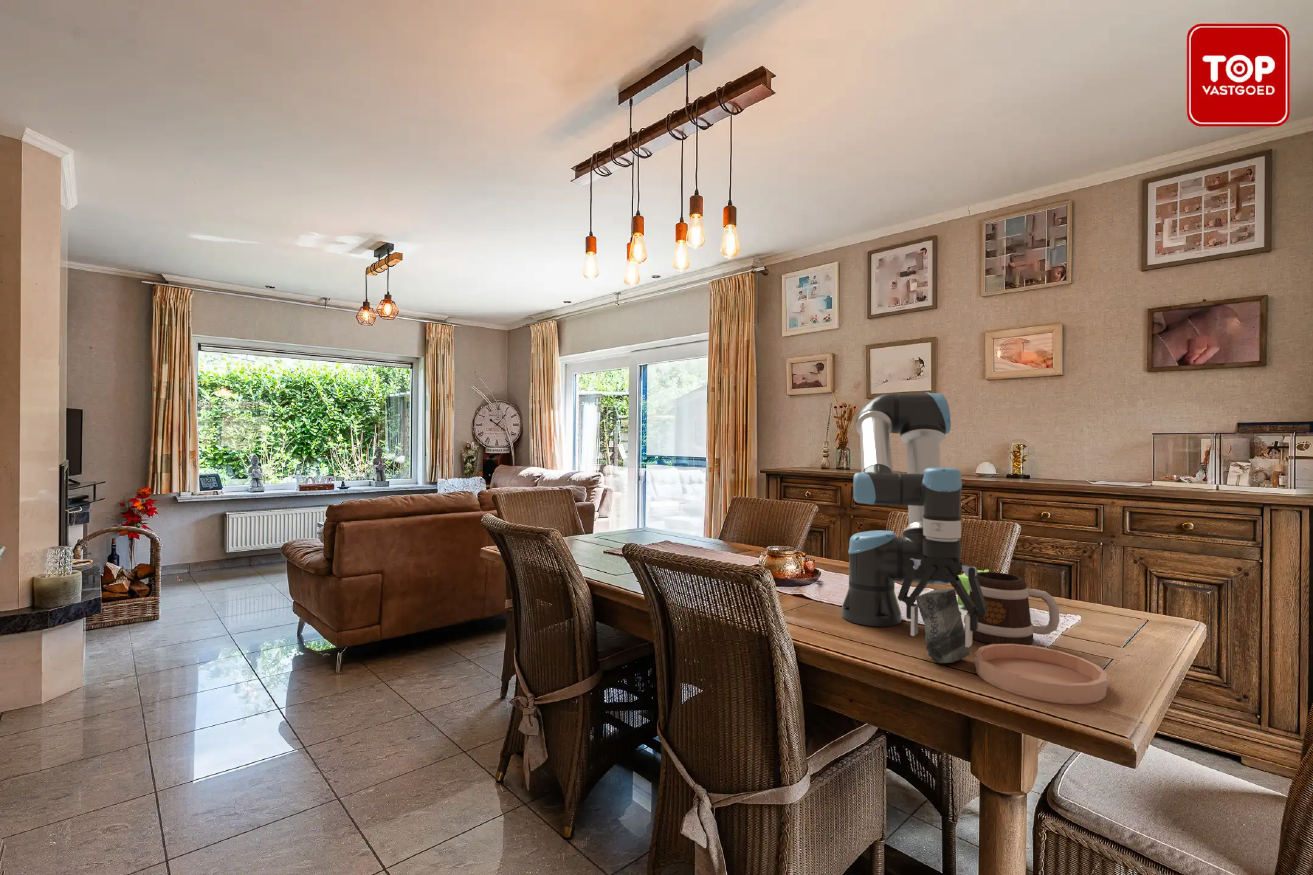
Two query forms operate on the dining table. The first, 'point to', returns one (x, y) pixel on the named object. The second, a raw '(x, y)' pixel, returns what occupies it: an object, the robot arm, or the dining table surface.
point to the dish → (1041, 673)
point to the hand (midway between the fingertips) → (940, 639)
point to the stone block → (943, 625)
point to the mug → (1010, 610)
